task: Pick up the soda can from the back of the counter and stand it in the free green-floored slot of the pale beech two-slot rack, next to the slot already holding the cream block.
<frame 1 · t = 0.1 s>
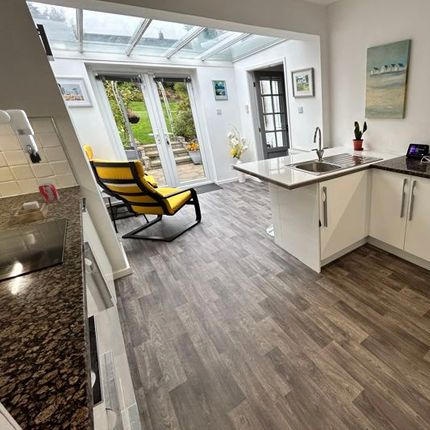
hand: (37, 162, 158), 24 cm above the table, tool pointing down, fingers open, 9 cm apart
rack: (34, 217, 140), on the table
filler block: (34, 213, 143), point 1 cm above the table, touching rack
soda can: (53, 203, 163), on the table
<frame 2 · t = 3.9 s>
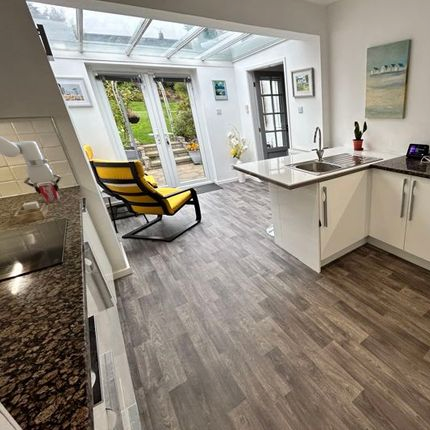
hand: (48, 191, 160), 7 cm above the table, tool pointing down, fingers closed on soda can, 7 cm apart
soda can: (53, 203, 163), on the table, touching gripper
everything else where it was.
when the fingers open (8 cm above the table, at t = 11.9 s): soda can stays where it is, resting on rack.
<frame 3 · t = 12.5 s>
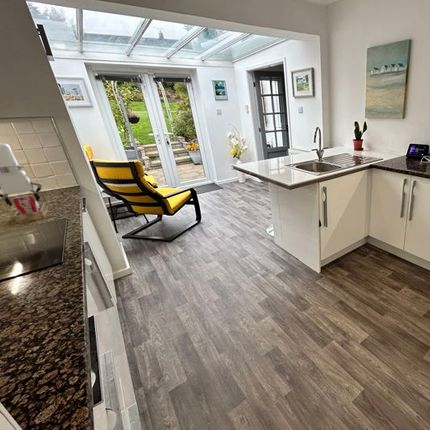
hand: (25, 202, 133), 9 cm above the table, tool pointing down, fingers open, 9 cm apart
soda can: (32, 218, 137), point 1 cm above the table, touching rack
everything else where it was.
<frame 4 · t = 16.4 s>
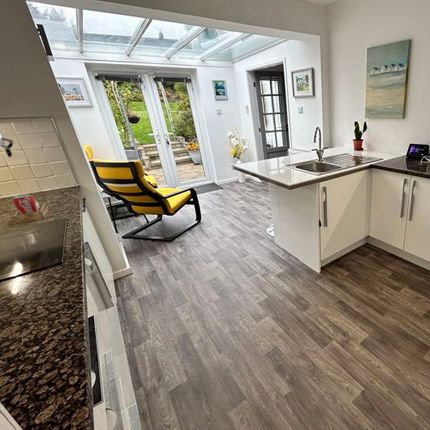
nothing on the table moved.
at the end: soda can 0.1 cm from the target spot in the rack, point 0.8 cm above the rack's base; soda can tilted 0°; the gripper is holding nothing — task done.
